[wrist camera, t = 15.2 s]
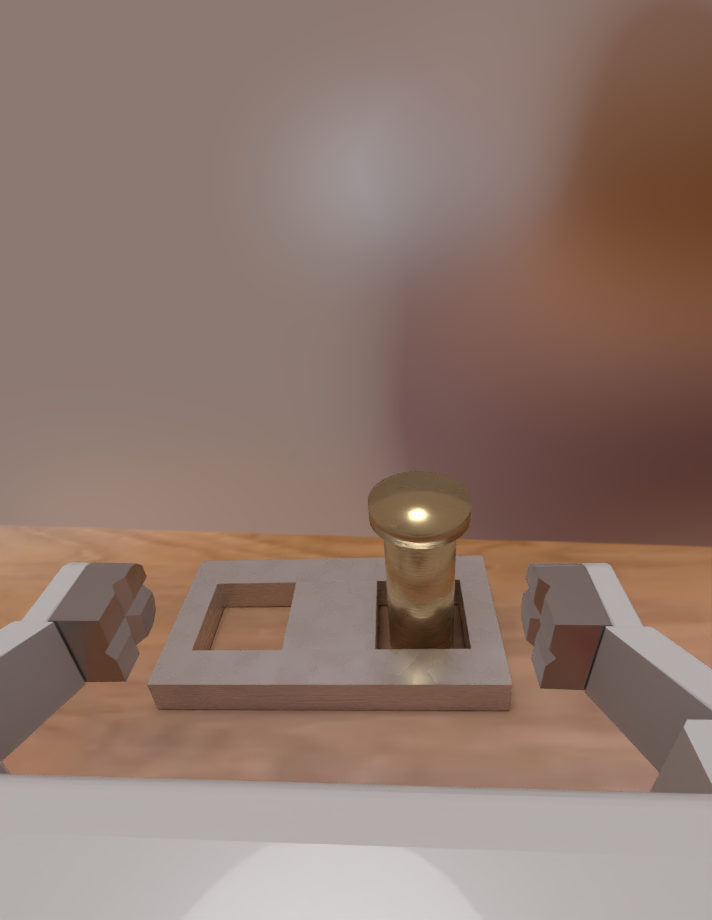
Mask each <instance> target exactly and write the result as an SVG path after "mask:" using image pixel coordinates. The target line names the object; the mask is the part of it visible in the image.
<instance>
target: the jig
mask: <svg viewBox="0 0 712 920" xmlns="http://www.w3.org/2000/svg"><path fill="white" fill-rule="evenodd" d="M454 604H459V609H460V616H461V622H462V629H463V635H464V642H465V648H466V649H378V611H379V605H388V602H387V585H386V568H385V558H338V559H290V560H242V561H202V563H201V565H200V567H199V569H198V572H197V574H196V576H195V578H194V581H193V583H192V585H191V587H190V590H189V592H188V594H187V596H186V598H185V601H184V603H183V605H182V607H181V610H180V612H179V614H178V616H177V619H176V621H175V623H174V625H173V628H172V630H171V632H170V634H169V637H168V639H167V641H166V643H165V645H164V648H163V650H162V652H161V654H160V657H159V659H158V661H157V663H156V666H155V668H154V670H153V672H152V675H151V677H150V679H149V681H148V684H147V686H148V688H149V690H150V692H151V695H152V697H153V699H154V701H155V703H156V705H157V708H158V709H257V710H489V711H509V705H510V698H511V690H512V682H511V677H510V673H509V669H508V664H507V660H506V656H505V651H504V647H503V643H502V638H501V634H500V630H499V625H498V621H497V617H496V613H495V608H494V604H493V600H492V595H491V591H490V587H489V582H488V578H487V574H486V569H485V565H484V561H483V556H456V563H455V591H454ZM267 606H291V610H290V614H289V619H288V624H287V629H286V633H285V638H284V643H283V648H282V650H210V647H211V644H212V641H213V638H214V635H215V633H216V630H217V627H218V624H219V621H220V618H221V616H222V613H223V610H224V607H267Z"/></svg>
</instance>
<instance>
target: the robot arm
mask: <svg viewBox="0 0 712 920" xmlns="http://www.w3.org/2000/svg"><path fill="white" fill-rule="evenodd" d="M146 577H147V576H146V574H145V572H144V569H143V567H142V565H139V564H133V563H94V562H93V563H76V562H70V563H68V564H66V565H64V566H63V567H62V568H61V569H60V571H59V572H58V573H57V575H56V576H55V577H54V579H53V580H52V581H51V583H50V584H49V585H48V586H47V588H46V589H45V590H44V592H43V593H42V594H41V596H40V597H39V598H38V600H37V601H36V602H35V603H34V605H33V606H32V607H31V609H30V610H29V611H28V613H27V614H26V615H25V617H24V618H23V619H22V620H21V621H14V622H12V623H10V624H9V625H7V626H5V627H4V628H2V629H0V920H712V669H711V668H709V667H708V666H706V665H705V664H703V663H702V662H701V661H699V660H698V659H696V658H695V657H694V656H692V655H691V654H689V653H688V652H687V651H685V650H684V649H682V648H681V647H679V646H678V645H677V644H675V643H674V642H672V641H671V640H670V639H668V638H667V637H665V636H664V635H663V634H661V633H660V632H658V631H657V630H655V629H654V628H653V627H644V626H643V624H642V622H641V620H640V619H639V617H638V615H637V613H636V611H635V609H634V608H633V606H632V604H631V602H630V600H629V598H628V597H627V595H626V593H625V591H624V589H623V587H622V586H621V584H620V582H619V580H618V578H617V576H616V575H615V573H614V571H613V569H612V567H611V566H610V565H609V564H607V563H581V564H530V565H529V567H528V570H527V575H526V580H527V583H528V586H529V589H528V590H527V591H526V592H524V593H523V598H522V605H521V611H522V624H523V629H524V633H525V637H526V640H527V641H528V642H529V643H530V644H532V645H533V646H534V649H533V654H532V662H533V665H534V669H535V672H536V675H537V679H538V682H539V686H540V688H544V689H567V690H586V691H585V693H586V694H587V695H588V696H589V697H590V698H591V699H592V701H593V702H594V703H595V704H596V705H597V706H598V707H599V708H600V709H601V710H602V711H603V712H604V713H605V715H606V716H607V717H608V718H609V719H610V720H611V721H612V722H613V723H614V724H615V725H616V726H617V727H618V728H619V730H620V731H621V732H622V733H623V734H624V735H625V736H626V737H627V738H628V739H629V740H630V741H631V742H632V744H633V745H634V746H635V747H636V748H637V749H638V750H639V751H640V752H641V753H642V754H643V755H644V756H645V757H646V759H647V760H648V761H649V762H650V763H651V764H652V765H653V766H654V767H655V768H656V769H657V770H658V771H659V775H658V777H657V779H656V781H655V783H654V785H653V787H652V789H651V791H650V792H623V791H588V790H552V789H517V788H481V787H445V786H410V785H374V784H338V783H302V782H266V781H230V780H194V779H159V778H124V777H88V776H53V775H18V774H11V773H10V772H9V771H8V769H7V768H6V767H5V765H4V764H3V763H2V762H1V761H3V760H4V759H5V758H6V757H7V756H8V755H9V754H10V753H11V752H12V751H13V750H15V749H16V748H17V747H18V746H19V745H20V744H21V743H22V742H23V741H24V740H25V739H27V738H28V737H29V736H30V735H31V734H32V733H33V732H34V731H35V730H36V729H37V728H39V727H40V726H41V725H42V724H43V723H44V722H45V721H46V720H47V719H48V718H50V717H51V716H52V715H53V714H54V713H55V712H56V711H57V710H58V709H59V708H60V707H62V706H63V705H64V704H65V703H66V702H67V701H68V700H69V699H70V698H71V697H72V696H74V695H75V694H76V693H77V692H78V691H79V690H80V689H81V688H82V687H83V686H84V685H85V684H86V683H85V682H126V680H127V678H128V676H129V674H130V672H131V670H132V668H133V666H134V664H135V662H136V660H137V658H138V656H139V651H138V648H137V644H138V643H139V642H141V641H142V640H143V639H145V638H146V637H147V636H148V635H149V632H150V630H151V628H152V626H153V623H154V617H155V612H156V609H155V599H154V596H153V593H152V592H151V591H150V590H149V589H148V588H146V587H145V586H144V585H143V583H144V581H145V579H146Z"/></svg>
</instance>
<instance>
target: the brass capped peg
mask: <svg viewBox="0 0 712 920" xmlns="http://www.w3.org/2000/svg"><path fill="white" fill-rule="evenodd" d="M471 508H472V498H471V495H470V492H469V491H468V489H467V488H466V487H465V486H464V485H463V484H462V483H460V482H459V481H457V480H456V479H454V478H452V477H449V476H447V475H444V474H440V473H436V472H429V471H410V472H404V473H399V474H396V475H393V476H390V477H388V478H386V479H384V480H382V481H381V482H379V483H378V484H377V485H376V486H374V488H373V489H372V490H371V492H370V494H369V496H368V509H369V521H370V525H371V527H372V529H373V530H374V531H375V533H376V534H378V536H380V537H381V538H382V539H384V551H385V568H386V585H387V602H388V619H389V636H390V644H391V646H392V648H393V649H451V647H452V643H453V620H454V591H455V563H456V540H457V539H458V538H460V537H461V536H462V535H463V534H464V533H465V532H466V531H467V529H468V528H469V526H470V522H471V510H472V509H471Z"/></svg>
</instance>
